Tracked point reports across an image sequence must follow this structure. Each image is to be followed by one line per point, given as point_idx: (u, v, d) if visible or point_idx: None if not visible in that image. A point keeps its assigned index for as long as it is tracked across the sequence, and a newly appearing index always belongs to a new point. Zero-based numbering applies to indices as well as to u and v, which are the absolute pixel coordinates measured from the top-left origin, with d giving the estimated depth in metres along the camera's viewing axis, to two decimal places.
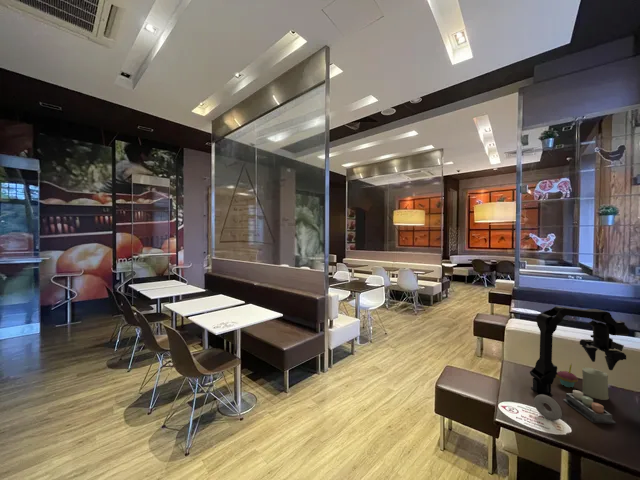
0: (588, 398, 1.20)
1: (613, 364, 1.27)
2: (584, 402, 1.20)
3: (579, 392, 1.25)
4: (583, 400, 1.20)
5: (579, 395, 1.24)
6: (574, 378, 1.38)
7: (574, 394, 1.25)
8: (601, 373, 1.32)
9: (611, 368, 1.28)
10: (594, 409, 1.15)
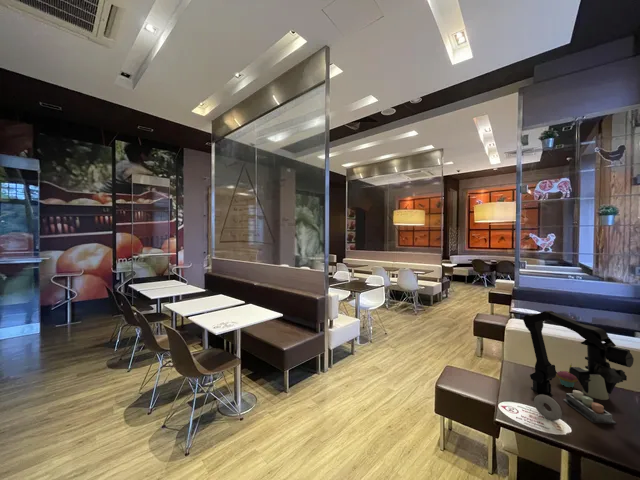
0: (588, 398, 1.20)
1: (584, 385, 1.16)
2: (584, 402, 1.20)
3: (579, 392, 1.25)
4: (583, 400, 1.20)
5: (579, 395, 1.24)
6: (574, 378, 1.38)
7: (574, 394, 1.25)
8: None
9: (585, 390, 1.16)
10: (594, 409, 1.15)
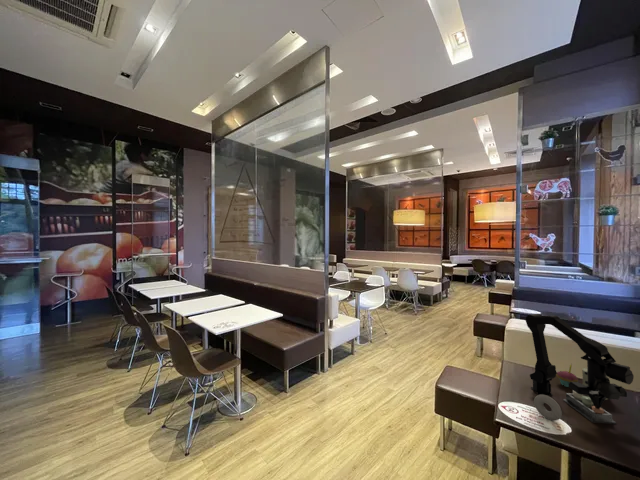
0: (588, 398, 1.20)
1: (594, 401, 1.15)
2: (584, 402, 1.20)
3: None
4: (583, 400, 1.20)
5: (579, 395, 1.24)
6: (574, 378, 1.38)
7: (574, 394, 1.25)
8: None
9: (595, 405, 1.15)
10: None
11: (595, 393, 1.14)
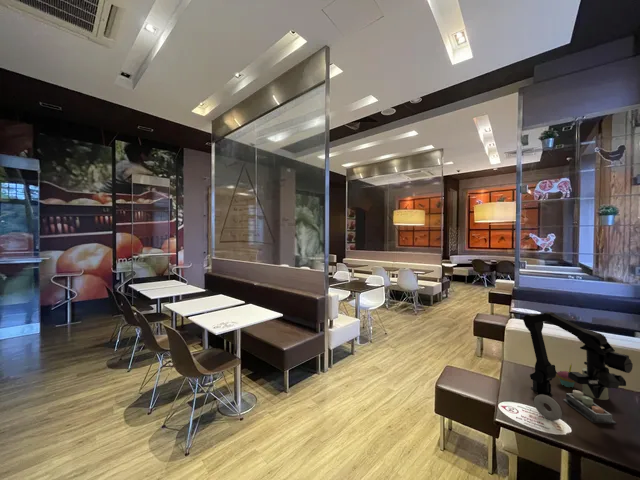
0: (588, 398, 1.20)
1: (593, 390, 1.15)
2: (584, 402, 1.20)
3: (579, 392, 1.25)
4: (583, 400, 1.20)
5: (579, 395, 1.24)
6: None
7: (574, 394, 1.25)
8: None
9: (594, 395, 1.16)
10: None
11: (594, 382, 1.14)
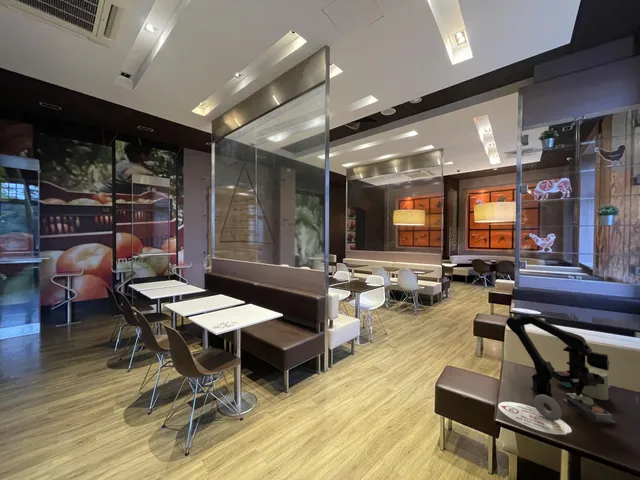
0: (588, 398, 1.20)
1: (575, 388, 1.25)
2: (584, 402, 1.20)
3: None
4: (583, 400, 1.20)
5: (579, 398, 1.24)
6: None
7: (574, 397, 1.25)
8: (601, 373, 1.32)
9: (575, 392, 1.25)
10: None
11: (575, 381, 1.23)
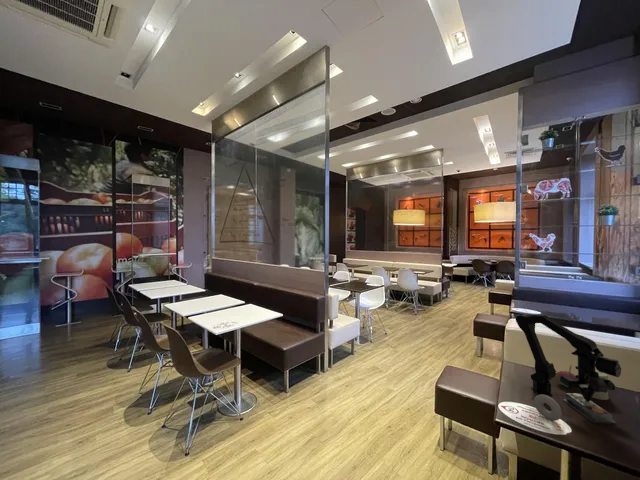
0: None
1: (584, 394, 1.20)
2: None
3: (579, 395, 1.25)
4: (583, 403, 1.20)
5: (579, 398, 1.24)
6: (574, 378, 1.38)
7: (574, 397, 1.25)
8: (601, 373, 1.32)
9: (585, 398, 1.20)
10: None
11: (585, 387, 1.19)
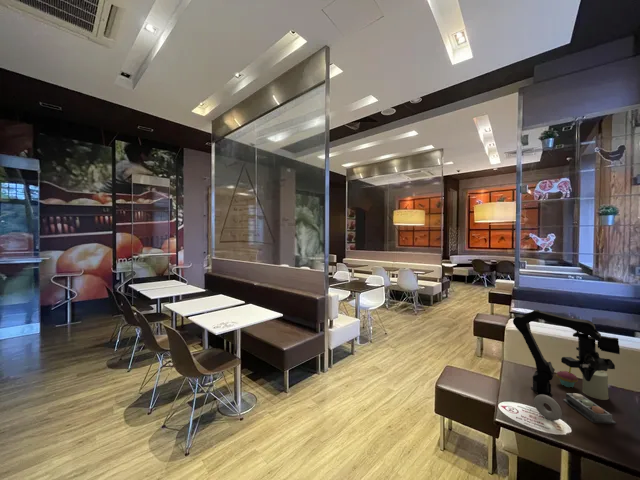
0: (588, 401, 1.20)
1: (585, 374, 1.24)
2: None
3: (579, 395, 1.25)
4: (583, 403, 1.20)
5: (579, 398, 1.24)
6: (574, 378, 1.38)
7: (574, 397, 1.25)
8: (601, 373, 1.32)
9: (585, 378, 1.24)
10: None
11: (585, 366, 1.22)
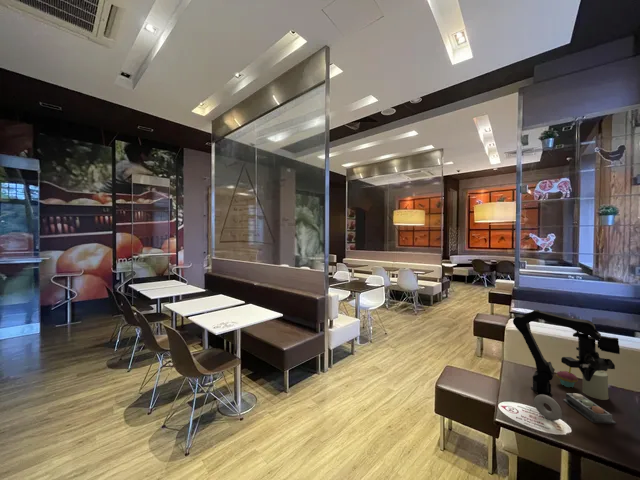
0: (588, 401, 1.20)
1: (585, 374, 1.24)
2: None
3: (579, 395, 1.25)
4: (583, 403, 1.20)
5: (579, 398, 1.24)
6: (574, 378, 1.38)
7: (574, 397, 1.25)
8: (601, 373, 1.32)
9: (585, 378, 1.24)
10: None
11: (585, 366, 1.22)
